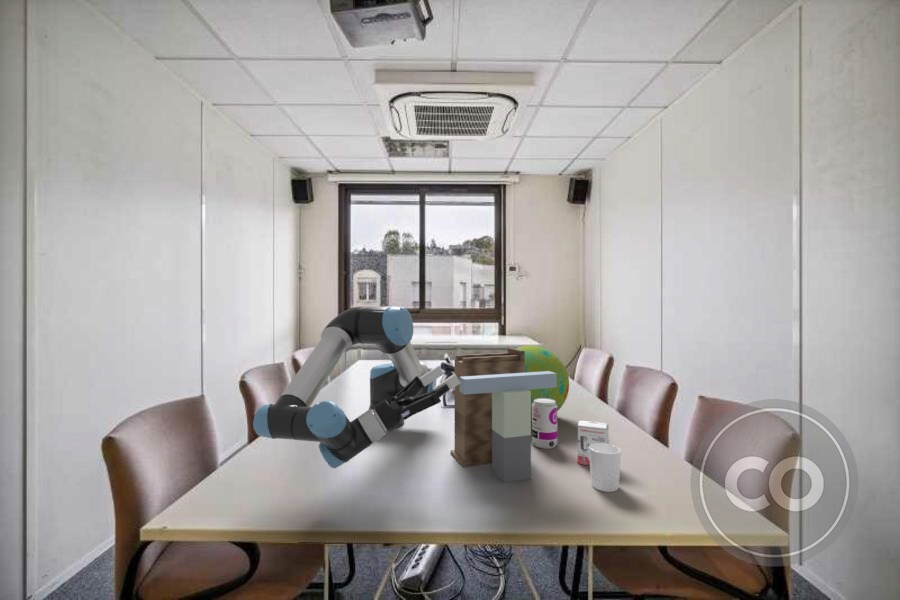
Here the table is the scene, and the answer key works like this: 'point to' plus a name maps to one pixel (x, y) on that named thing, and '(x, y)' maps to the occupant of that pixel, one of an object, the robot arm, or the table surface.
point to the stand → (479, 404)
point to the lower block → (511, 457)
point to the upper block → (511, 413)
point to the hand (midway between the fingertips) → (449, 373)
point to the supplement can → (544, 423)
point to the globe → (546, 361)
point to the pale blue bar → (507, 382)
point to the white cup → (605, 466)
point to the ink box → (590, 438)
